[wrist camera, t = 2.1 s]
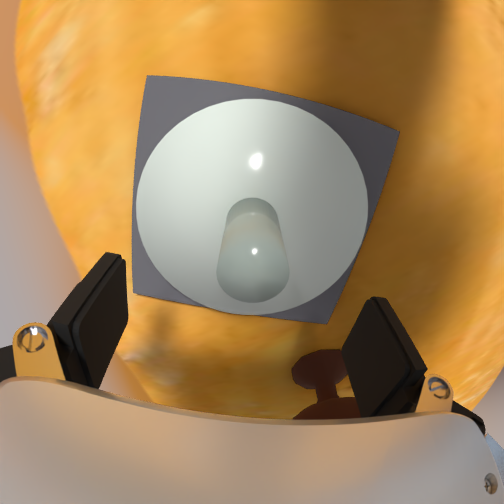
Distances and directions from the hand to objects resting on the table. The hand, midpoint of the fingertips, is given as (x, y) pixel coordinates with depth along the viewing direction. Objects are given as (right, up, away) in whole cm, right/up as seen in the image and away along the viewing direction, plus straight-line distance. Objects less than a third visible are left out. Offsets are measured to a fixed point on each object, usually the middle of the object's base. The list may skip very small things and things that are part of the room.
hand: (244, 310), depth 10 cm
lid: (0, +4, +6) cm, 7 cm away
